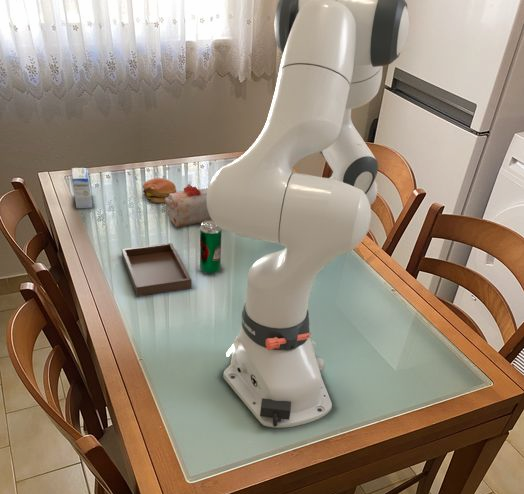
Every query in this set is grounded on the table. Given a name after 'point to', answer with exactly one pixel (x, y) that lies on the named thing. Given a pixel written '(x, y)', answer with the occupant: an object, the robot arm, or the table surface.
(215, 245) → the soda can
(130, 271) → the tray
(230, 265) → the table surface
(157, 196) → the burger
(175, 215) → the food item
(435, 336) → the table surface
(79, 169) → the medicine box
